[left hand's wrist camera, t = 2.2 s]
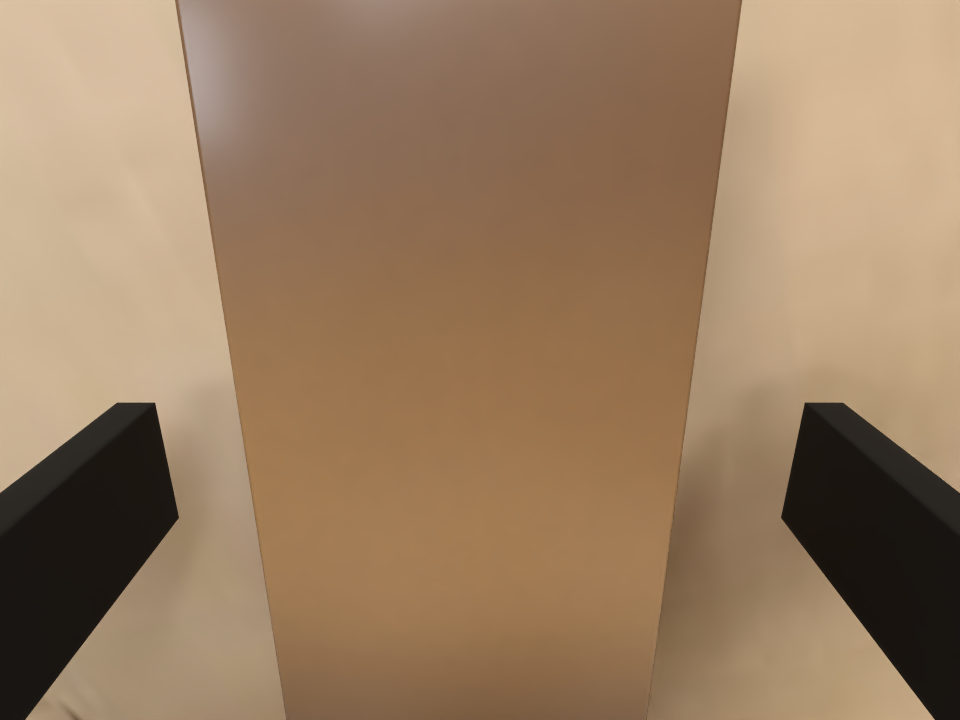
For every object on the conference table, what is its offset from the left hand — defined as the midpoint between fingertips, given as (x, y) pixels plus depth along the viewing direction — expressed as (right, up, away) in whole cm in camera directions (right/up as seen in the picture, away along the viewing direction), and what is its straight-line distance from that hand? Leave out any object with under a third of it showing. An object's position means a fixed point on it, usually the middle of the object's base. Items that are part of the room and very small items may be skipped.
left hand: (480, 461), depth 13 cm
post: (0, -18, +10) cm, 21 cm away
